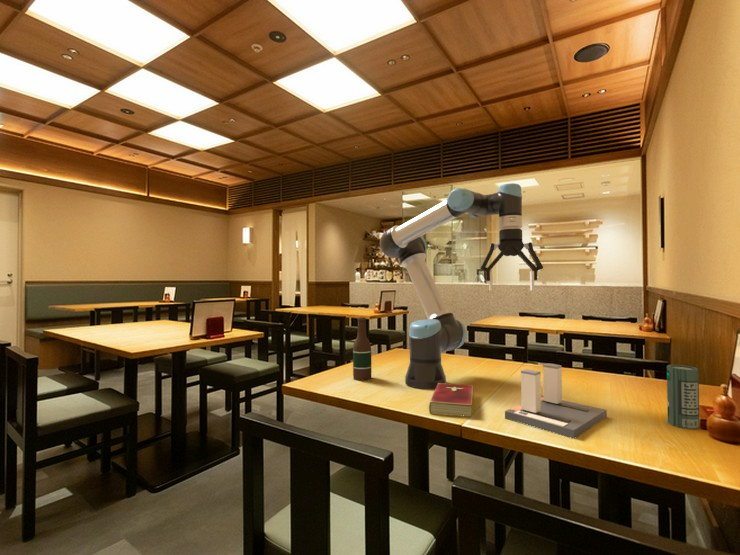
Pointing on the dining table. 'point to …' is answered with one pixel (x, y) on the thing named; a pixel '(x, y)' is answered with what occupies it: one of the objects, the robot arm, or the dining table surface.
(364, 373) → the beer bottle
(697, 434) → the dining table surface
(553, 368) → the back tab
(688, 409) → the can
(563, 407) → the switch base
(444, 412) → the hardcover book
